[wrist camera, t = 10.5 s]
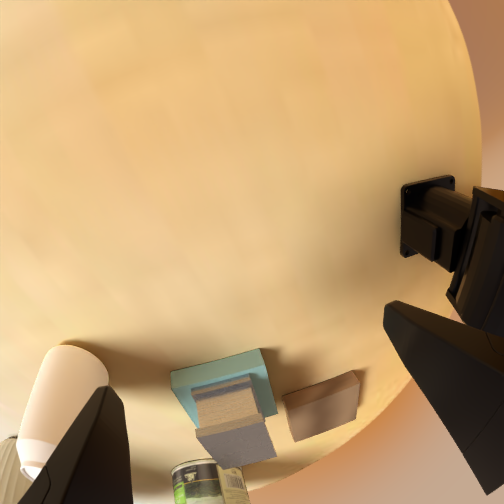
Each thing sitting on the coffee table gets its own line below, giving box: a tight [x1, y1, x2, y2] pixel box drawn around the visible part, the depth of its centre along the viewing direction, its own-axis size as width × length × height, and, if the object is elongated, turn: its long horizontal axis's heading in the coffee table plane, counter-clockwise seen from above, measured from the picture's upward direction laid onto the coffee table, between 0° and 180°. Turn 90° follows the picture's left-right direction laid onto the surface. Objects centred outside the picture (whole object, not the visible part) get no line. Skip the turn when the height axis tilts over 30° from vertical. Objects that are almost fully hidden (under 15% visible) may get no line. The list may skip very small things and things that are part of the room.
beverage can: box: [16, 345, 109, 482], centre depth 17 cm, size 6×6×12 cm
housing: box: [191, 373, 277, 470], centre depth 23 cm, size 7×5×5 cm
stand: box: [171, 349, 278, 428], centre depth 26 cm, size 8×8×2 cm
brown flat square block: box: [282, 371, 360, 442], centre depth 30 cm, size 8×8×2 cm
